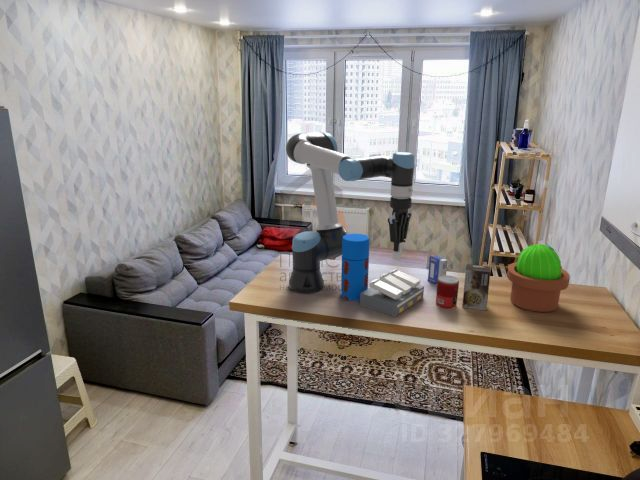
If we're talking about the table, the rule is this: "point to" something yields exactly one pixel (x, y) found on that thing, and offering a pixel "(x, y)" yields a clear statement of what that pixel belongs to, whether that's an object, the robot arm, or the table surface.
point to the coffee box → (476, 287)
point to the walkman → (436, 268)
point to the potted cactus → (537, 279)
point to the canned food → (447, 291)
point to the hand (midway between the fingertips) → (397, 258)
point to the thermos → (354, 265)
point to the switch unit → (390, 300)
